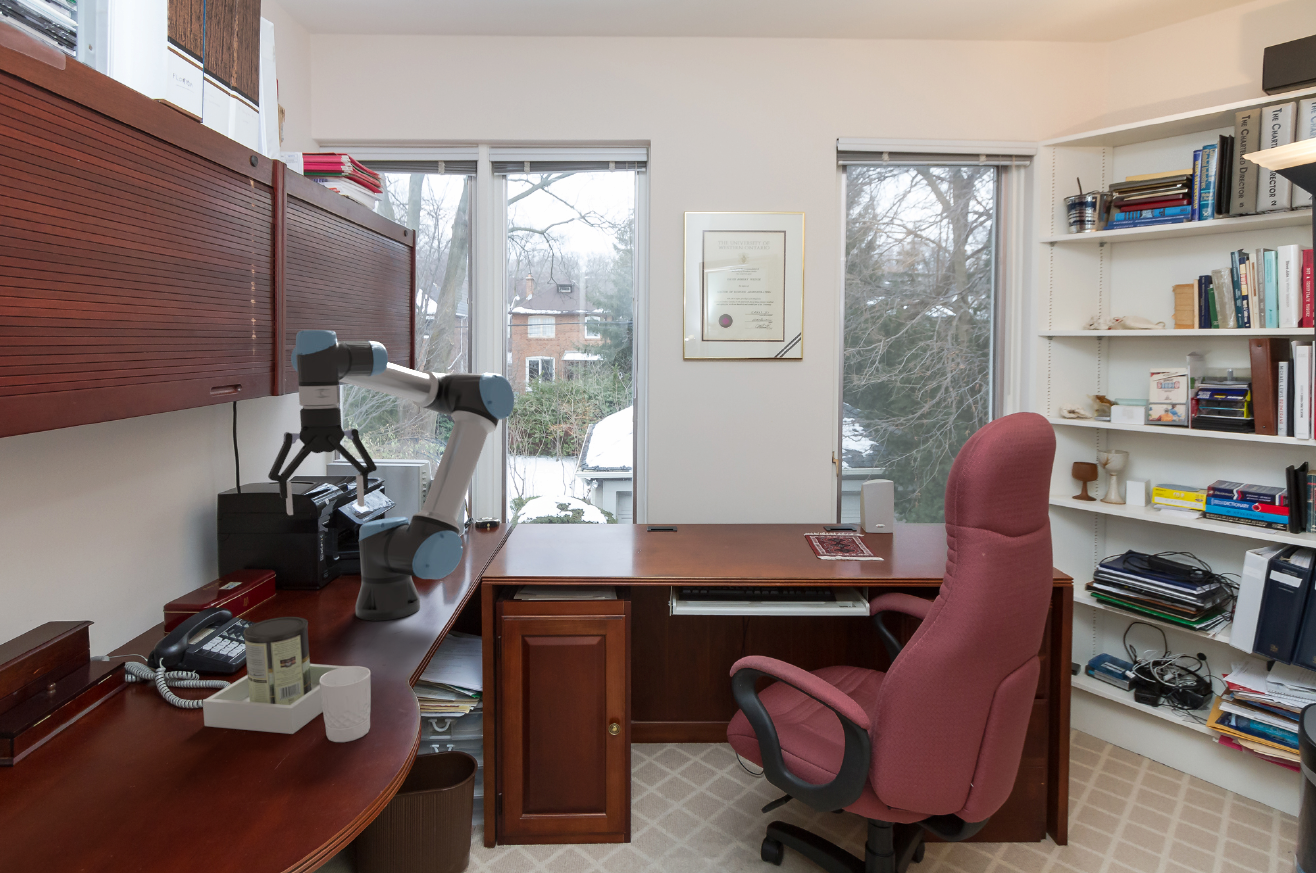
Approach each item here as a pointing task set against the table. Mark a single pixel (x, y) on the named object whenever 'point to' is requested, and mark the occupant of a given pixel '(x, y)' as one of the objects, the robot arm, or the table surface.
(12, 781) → the table surface
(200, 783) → the table surface
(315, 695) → the tray
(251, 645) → the coffee can
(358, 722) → the white cup
